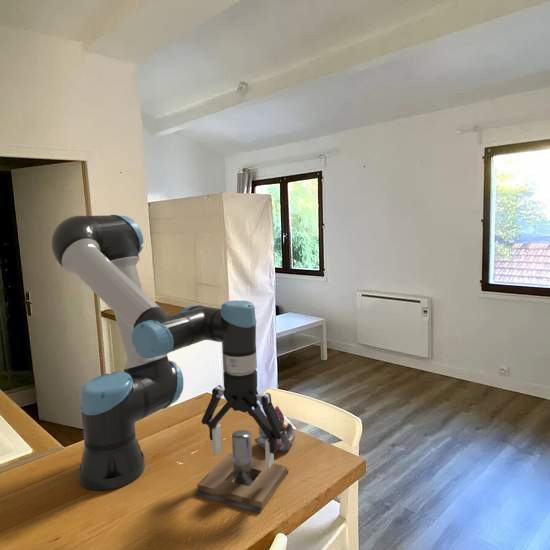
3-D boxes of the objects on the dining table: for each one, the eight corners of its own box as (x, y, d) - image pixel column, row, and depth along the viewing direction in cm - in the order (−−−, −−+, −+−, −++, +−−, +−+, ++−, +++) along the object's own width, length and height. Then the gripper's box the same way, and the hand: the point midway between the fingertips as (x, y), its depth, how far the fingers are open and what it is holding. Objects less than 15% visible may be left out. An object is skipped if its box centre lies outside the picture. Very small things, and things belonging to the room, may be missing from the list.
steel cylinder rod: (230, 486, 99) (228, 437, 98) (239, 476, 103) (237, 428, 102) (247, 491, 98) (245, 441, 96) (255, 480, 102) (254, 432, 100)
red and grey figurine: (295, 450, 110) (267, 411, 111) (263, 469, 113) (236, 431, 114) (306, 429, 120) (280, 394, 121) (277, 447, 124) (252, 413, 125)
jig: (195, 494, 97) (195, 486, 97) (230, 458, 111) (230, 451, 111) (260, 513, 90) (260, 504, 90) (288, 472, 104) (288, 464, 104)
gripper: (184, 368, 99) (188, 456, 101) (285, 383, 89) (286, 480, 91) (202, 358, 105) (205, 440, 108) (298, 371, 95) (299, 461, 98)
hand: (243, 459), depth 100 cm, fingers open, 13 cm apart
